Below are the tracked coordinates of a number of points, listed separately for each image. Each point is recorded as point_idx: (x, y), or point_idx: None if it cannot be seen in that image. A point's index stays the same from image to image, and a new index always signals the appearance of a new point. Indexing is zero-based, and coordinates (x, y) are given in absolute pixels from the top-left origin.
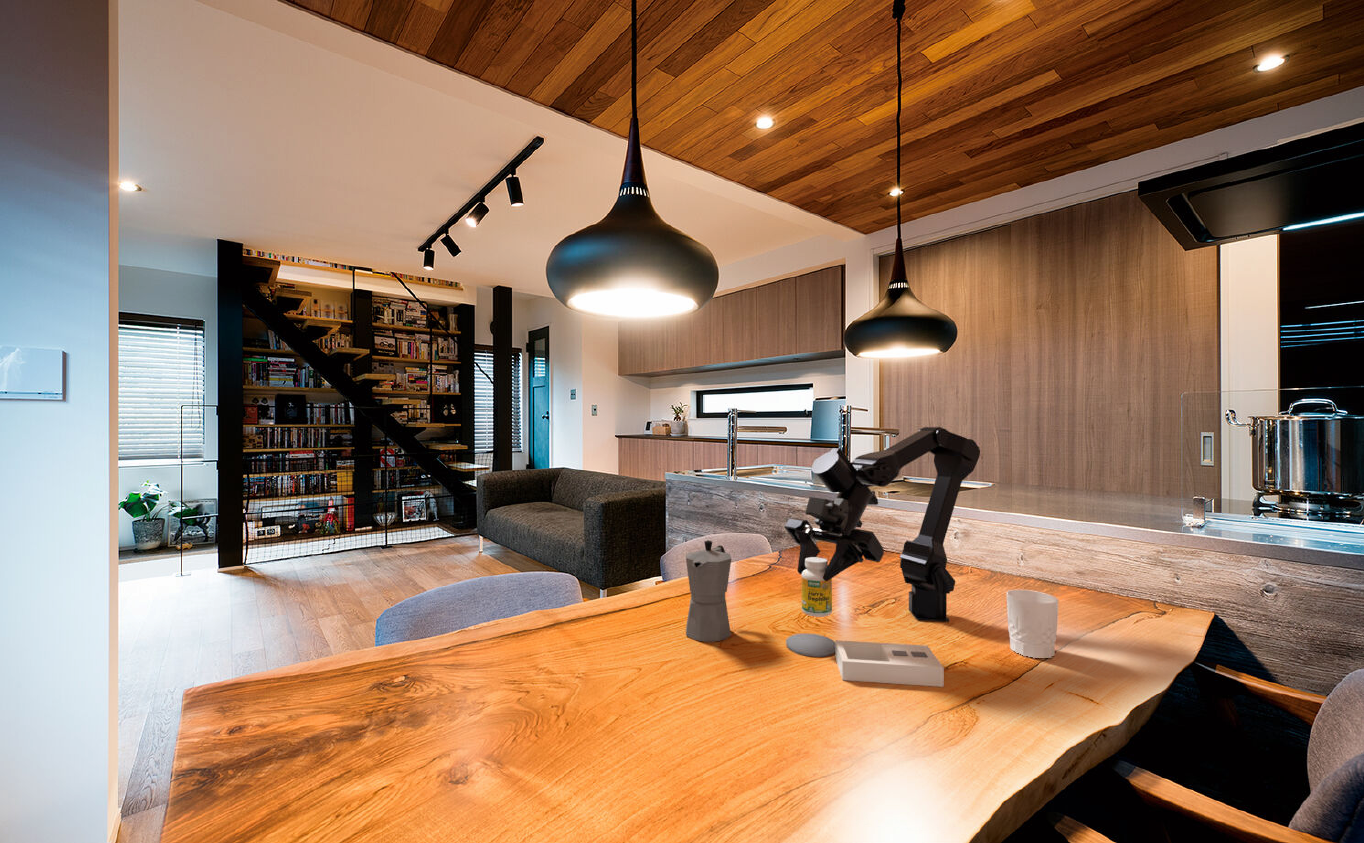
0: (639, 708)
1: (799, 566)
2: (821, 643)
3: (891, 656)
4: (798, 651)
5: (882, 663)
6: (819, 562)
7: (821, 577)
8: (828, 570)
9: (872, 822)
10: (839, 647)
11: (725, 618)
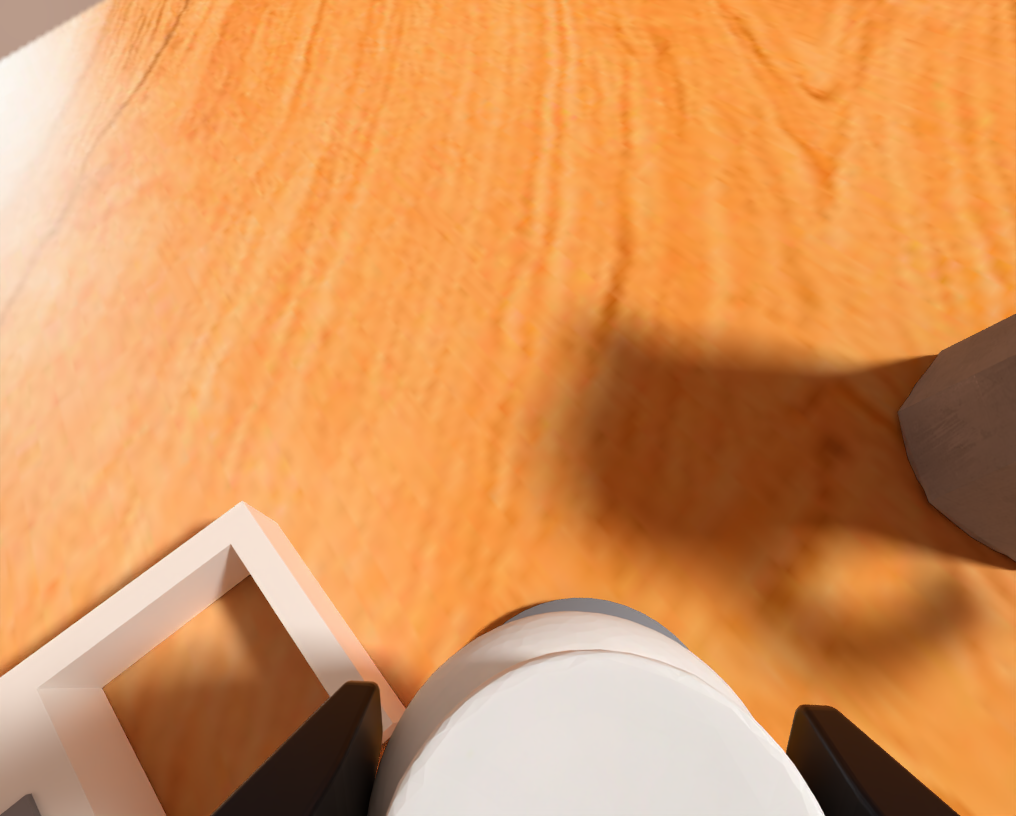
0: (611, 6)
1: (856, 750)
2: None
3: (41, 764)
4: (566, 600)
5: (67, 630)
6: (427, 739)
7: (416, 708)
8: (280, 756)
9: (2, 75)
10: (326, 642)
11: (995, 440)
